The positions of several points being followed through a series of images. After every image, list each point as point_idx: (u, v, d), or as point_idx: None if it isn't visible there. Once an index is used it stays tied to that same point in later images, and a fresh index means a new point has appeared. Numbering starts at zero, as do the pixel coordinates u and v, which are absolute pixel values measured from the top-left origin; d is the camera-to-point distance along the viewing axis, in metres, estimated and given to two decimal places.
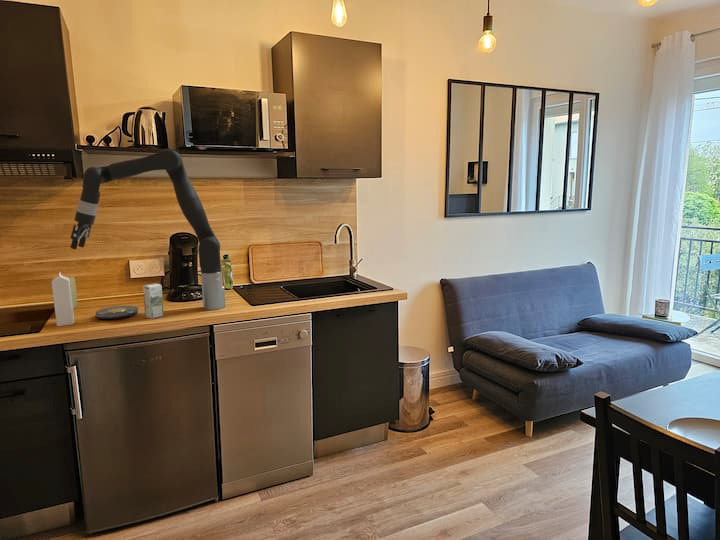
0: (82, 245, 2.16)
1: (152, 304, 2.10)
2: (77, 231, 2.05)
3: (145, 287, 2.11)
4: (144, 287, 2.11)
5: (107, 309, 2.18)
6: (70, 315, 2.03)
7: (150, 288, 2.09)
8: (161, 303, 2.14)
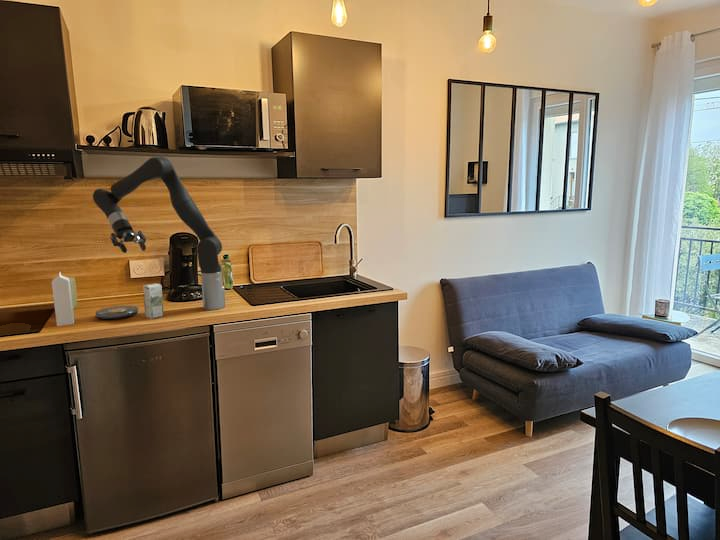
0: (143, 247, 2.20)
1: (152, 304, 2.10)
2: (112, 237, 2.13)
3: (145, 287, 2.11)
4: (144, 287, 2.11)
5: (107, 309, 2.18)
6: (70, 315, 2.03)
7: (150, 288, 2.09)
8: (161, 303, 2.13)
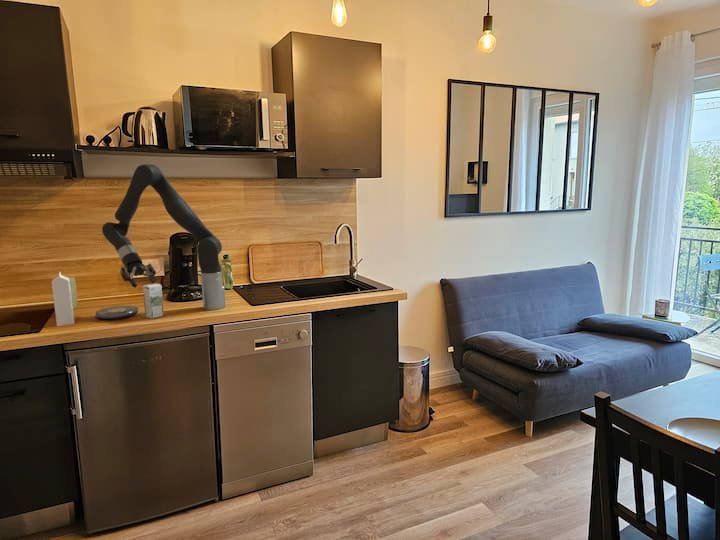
0: (153, 281, 2.19)
1: (152, 304, 2.10)
2: (122, 272, 2.13)
3: (145, 287, 2.11)
4: (144, 287, 2.11)
5: (107, 309, 2.18)
6: (70, 315, 2.03)
7: (150, 288, 2.09)
8: (161, 303, 2.14)
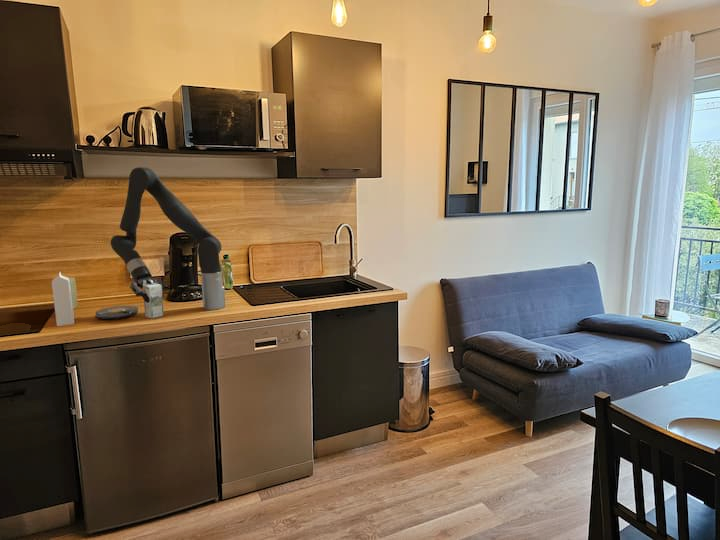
0: None
1: (152, 304, 2.10)
2: (133, 287, 2.09)
3: (145, 287, 2.11)
4: (144, 287, 2.11)
5: (107, 309, 2.18)
6: (70, 315, 2.03)
7: (150, 288, 2.09)
8: (161, 303, 2.13)
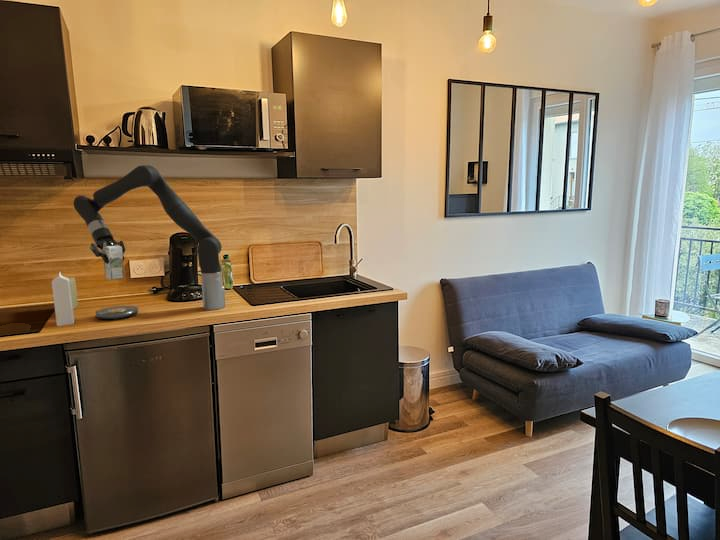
0: None
1: (111, 265, 2.09)
2: (93, 248, 2.08)
3: (105, 248, 2.10)
4: (104, 248, 2.10)
5: (107, 309, 2.18)
6: (70, 315, 2.03)
7: (110, 249, 2.08)
8: (121, 265, 2.13)
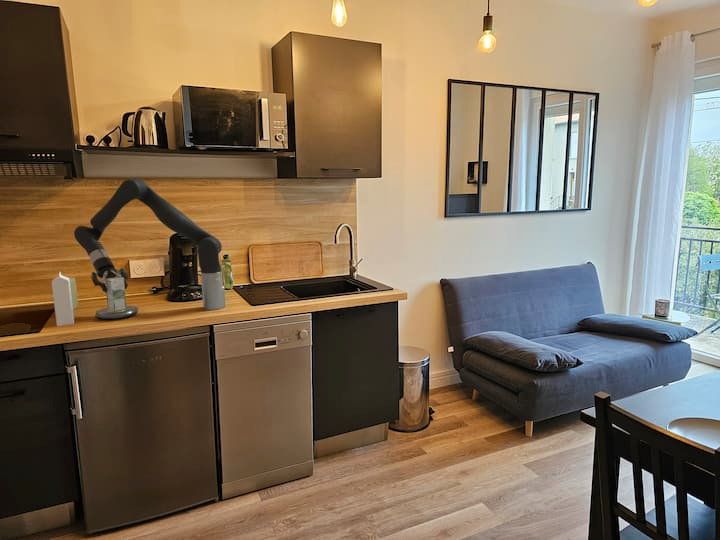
0: (124, 285, 2.17)
1: (114, 297, 2.12)
2: (93, 276, 2.11)
3: (107, 280, 2.12)
4: (106, 280, 2.13)
5: (107, 309, 2.18)
6: (70, 315, 2.03)
7: (112, 281, 2.11)
8: (123, 296, 2.15)
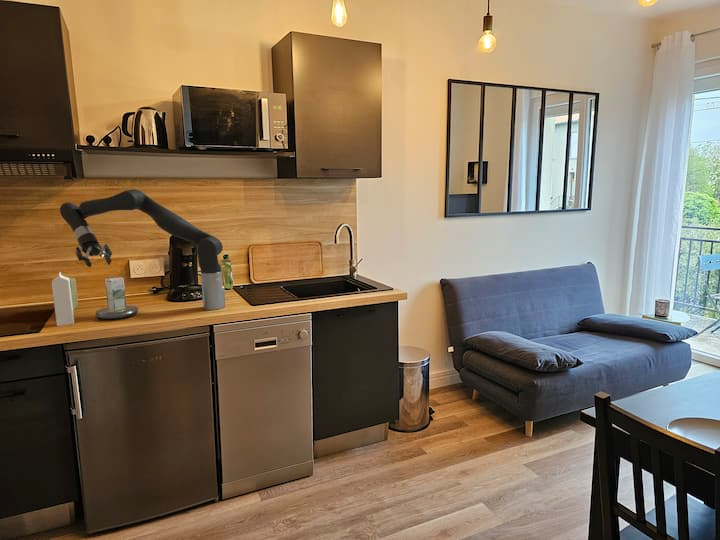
0: (108, 261, 2.23)
1: (114, 297, 2.12)
2: (77, 251, 2.16)
3: (107, 280, 2.12)
4: (106, 280, 2.13)
5: (107, 309, 2.18)
6: (70, 315, 2.03)
7: (112, 281, 2.11)
8: (123, 296, 2.15)
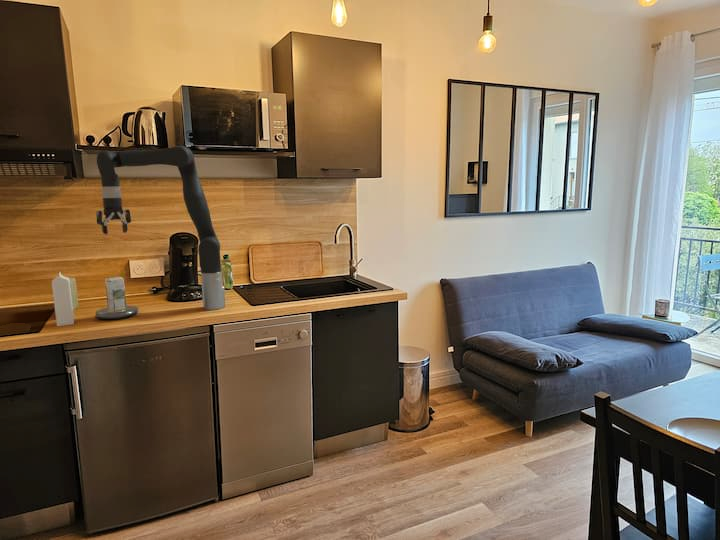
0: (124, 230, 2.22)
1: (114, 297, 2.12)
2: (98, 216, 2.12)
3: (107, 280, 2.12)
4: (106, 280, 2.13)
5: (107, 309, 2.18)
6: (70, 315, 2.03)
7: (112, 281, 2.11)
8: (123, 296, 2.15)
